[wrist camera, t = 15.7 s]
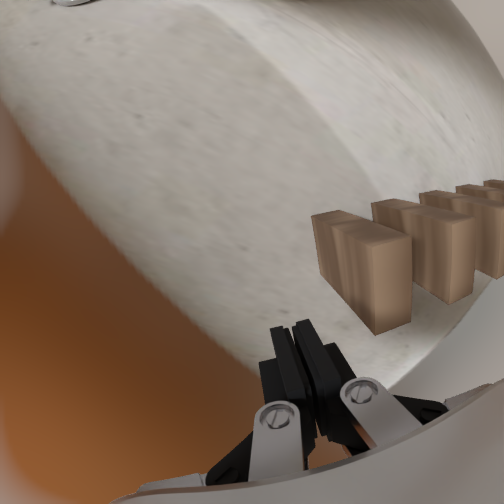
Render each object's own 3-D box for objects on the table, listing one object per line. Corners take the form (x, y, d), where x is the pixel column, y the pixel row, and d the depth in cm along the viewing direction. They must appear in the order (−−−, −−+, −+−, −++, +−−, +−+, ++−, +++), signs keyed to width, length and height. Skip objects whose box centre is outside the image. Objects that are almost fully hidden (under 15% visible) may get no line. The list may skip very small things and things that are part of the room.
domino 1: (320, 274, 23) (374, 335, 13) (311, 215, 22) (371, 247, 12) (346, 267, 23) (410, 321, 13) (338, 209, 22) (411, 236, 12)
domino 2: (376, 258, 23) (448, 305, 13) (371, 203, 22) (451, 224, 12) (397, 252, 23) (472, 292, 14) (393, 198, 22) (476, 217, 12)
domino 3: (457, 233, 23) (527, 260, 14) (455, 186, 22) (530, 199, 12) (470, 229, 23) (537, 253, 14) (468, 184, 22) (540, 196, 12)
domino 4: (422, 244, 23) (496, 279, 14) (419, 193, 22) (500, 209, 12) (439, 239, 23) (511, 270, 14) (436, 190, 22) (515, 205, 12)
